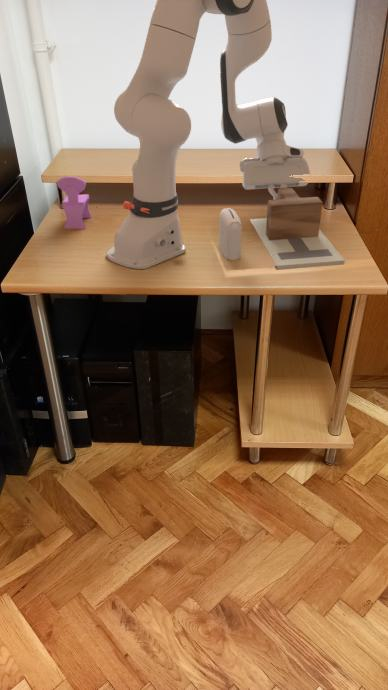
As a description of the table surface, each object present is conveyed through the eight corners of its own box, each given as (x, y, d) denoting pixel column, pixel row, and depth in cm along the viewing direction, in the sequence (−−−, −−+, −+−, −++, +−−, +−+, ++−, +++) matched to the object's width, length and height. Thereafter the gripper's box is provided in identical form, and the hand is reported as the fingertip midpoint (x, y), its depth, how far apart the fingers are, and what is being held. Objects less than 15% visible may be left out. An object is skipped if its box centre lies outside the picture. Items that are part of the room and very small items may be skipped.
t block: (258, 222, 168) (260, 189, 163) (305, 219, 170) (308, 186, 164) (269, 240, 159) (271, 205, 153) (318, 236, 160) (322, 202, 155)
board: (249, 223, 171) (249, 219, 171) (308, 218, 173) (308, 215, 173) (276, 270, 147) (276, 265, 146) (343, 264, 149) (344, 260, 149)
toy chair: (95, 217, 176) (89, 168, 168) (88, 228, 169) (82, 178, 160) (68, 216, 177) (61, 167, 168) (61, 228, 170) (53, 178, 161)
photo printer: (217, 247, 158) (218, 204, 151) (232, 246, 159) (234, 203, 152) (226, 264, 150) (227, 219, 143) (242, 263, 150) (244, 218, 143)
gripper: (240, 153, 168) (246, 198, 166) (308, 149, 170) (315, 193, 168) (237, 163, 174) (242, 207, 172) (302, 160, 177) (308, 202, 174)
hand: (279, 200), depth 170 cm, fingers closed
